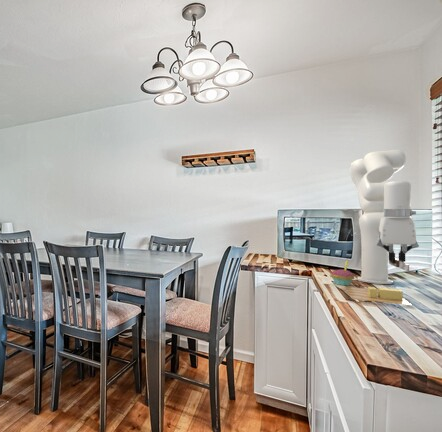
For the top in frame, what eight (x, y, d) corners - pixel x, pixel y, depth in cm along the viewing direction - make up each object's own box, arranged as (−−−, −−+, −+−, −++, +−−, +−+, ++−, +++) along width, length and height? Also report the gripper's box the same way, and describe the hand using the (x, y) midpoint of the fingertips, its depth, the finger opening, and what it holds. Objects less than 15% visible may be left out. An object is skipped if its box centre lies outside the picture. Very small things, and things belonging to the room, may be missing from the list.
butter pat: (367, 294, 118) (367, 286, 118) (374, 295, 117) (374, 287, 117) (370, 297, 115) (369, 288, 115) (377, 297, 114) (377, 289, 114)
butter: (378, 295, 117) (378, 287, 117) (399, 297, 114) (399, 289, 114) (380, 298, 113) (380, 289, 113) (402, 300, 110) (402, 291, 110)
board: (343, 288, 131) (343, 286, 131) (394, 293, 124) (394, 290, 124) (351, 301, 112) (352, 298, 112) (412, 307, 104) (412, 304, 104)
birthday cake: (350, 284, 139) (350, 257, 139) (357, 289, 131) (357, 260, 131) (327, 283, 142) (327, 256, 142) (333, 287, 134) (333, 259, 134)
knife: (388, 263, 125) (388, 256, 125) (394, 263, 124) (394, 257, 124) (405, 271, 108) (405, 264, 108) (412, 272, 107) (412, 264, 107)
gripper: (421, 214, 118) (421, 263, 119) (368, 214, 126) (368, 260, 126) (429, 214, 112) (429, 266, 112) (372, 214, 119) (372, 263, 120)
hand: (396, 262), depth 119 cm, fingers closed on knife, 1 cm apart
